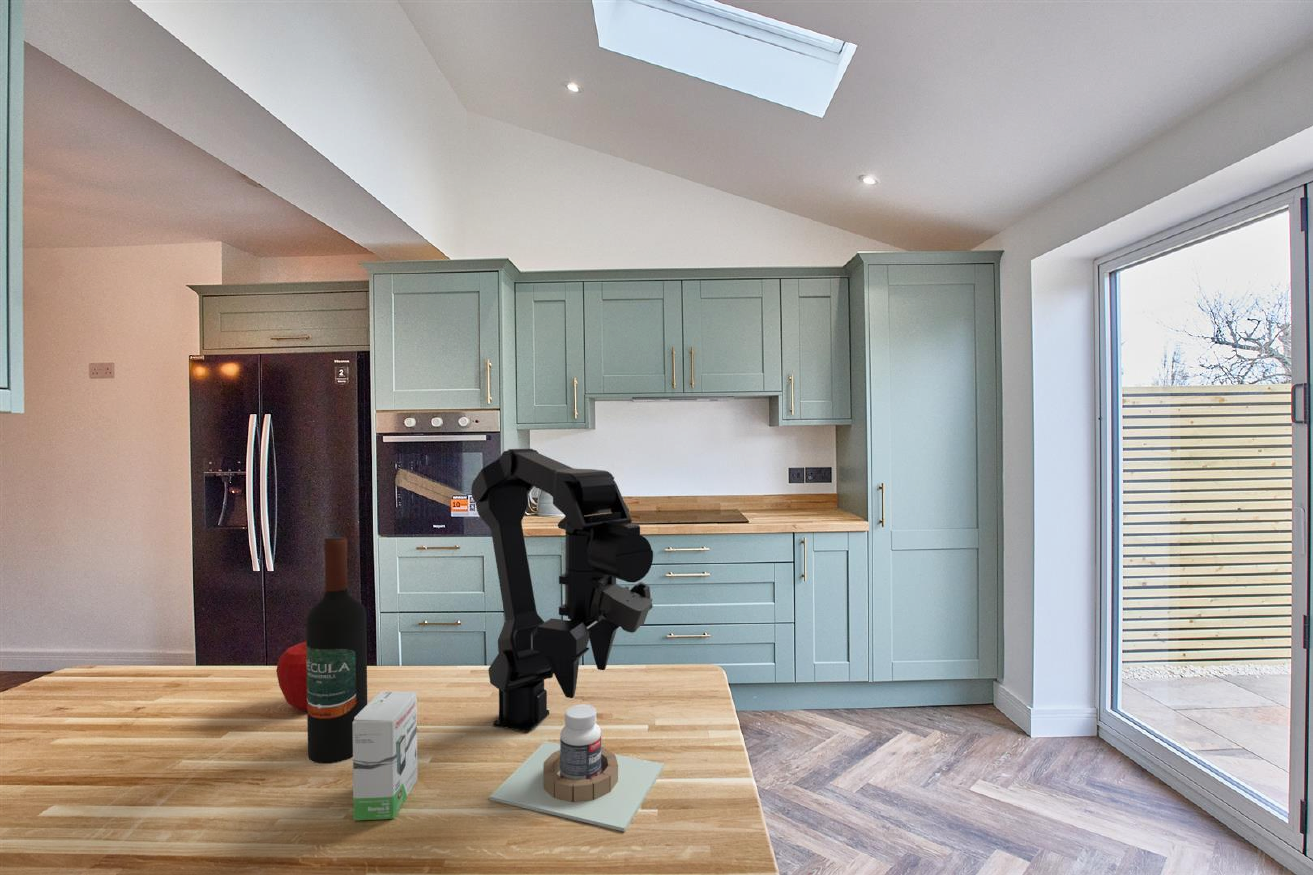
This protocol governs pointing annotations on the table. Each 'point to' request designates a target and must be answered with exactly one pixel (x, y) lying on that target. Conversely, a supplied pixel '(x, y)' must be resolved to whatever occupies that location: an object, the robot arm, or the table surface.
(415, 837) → the table surface
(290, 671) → the apple
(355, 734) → the ink box
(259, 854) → the table surface
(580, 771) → the pill bottle
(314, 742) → the wine bottle
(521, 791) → the collar board
